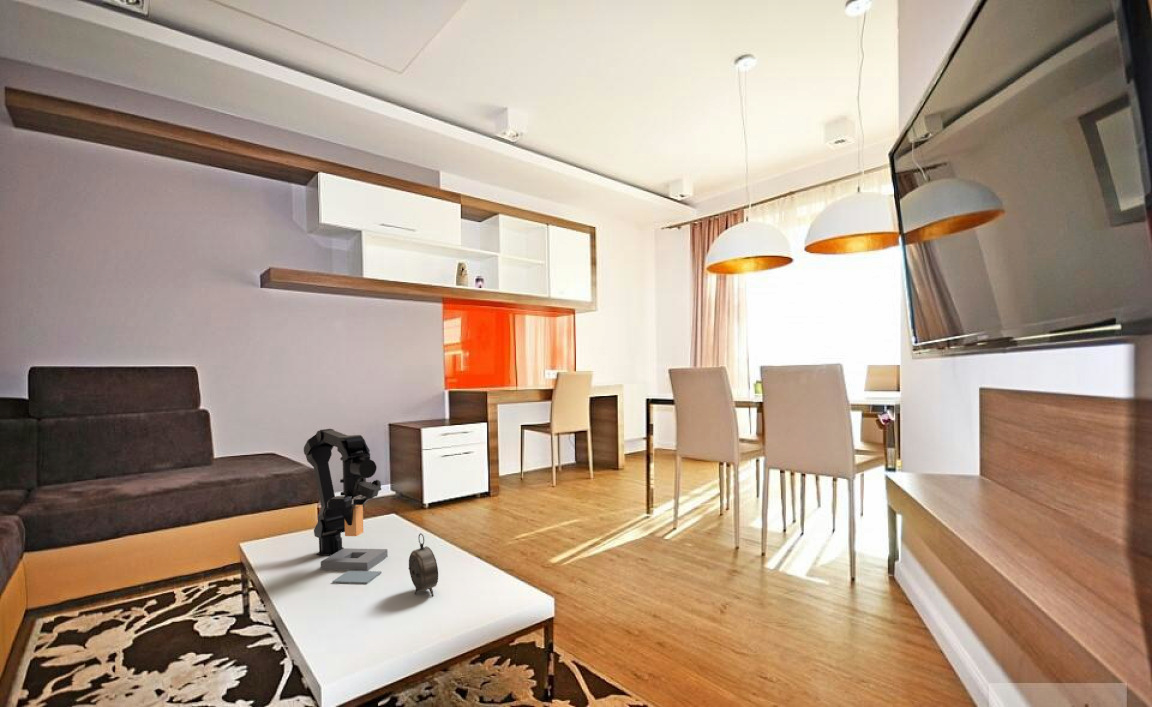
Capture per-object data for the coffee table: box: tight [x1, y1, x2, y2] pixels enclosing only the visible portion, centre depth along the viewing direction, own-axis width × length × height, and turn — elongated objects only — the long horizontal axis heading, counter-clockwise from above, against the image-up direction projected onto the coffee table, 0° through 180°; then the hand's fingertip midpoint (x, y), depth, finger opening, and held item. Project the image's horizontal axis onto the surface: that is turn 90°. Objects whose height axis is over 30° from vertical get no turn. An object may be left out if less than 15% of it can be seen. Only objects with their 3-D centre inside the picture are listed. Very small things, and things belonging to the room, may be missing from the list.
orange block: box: [344, 505, 364, 537], centre depth 169 cm, size 4×4×9 cm
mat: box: [332, 570, 382, 585], centre depth 156 cm, size 11×8×1 cm
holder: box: [320, 547, 389, 571], centre depth 169 cm, size 16×12×2 cm
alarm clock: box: [408, 533, 439, 597], centre depth 144 cm, size 11×5×16 cm, turn 38°
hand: (353, 523), depth 169 cm, fingers closed on orange block, 4 cm apart
